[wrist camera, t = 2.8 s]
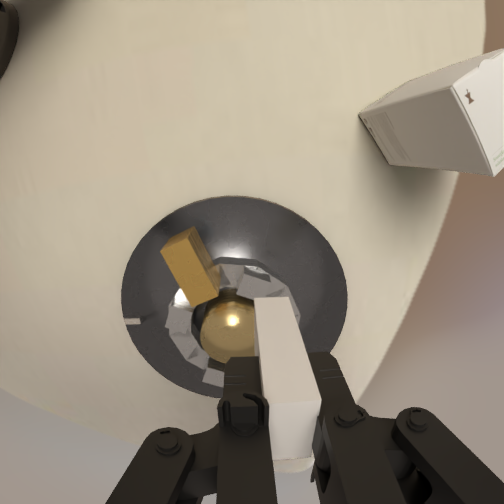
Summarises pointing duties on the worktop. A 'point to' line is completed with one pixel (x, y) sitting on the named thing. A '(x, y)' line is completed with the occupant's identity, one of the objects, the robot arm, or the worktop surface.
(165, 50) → the worktop surface
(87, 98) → the worktop surface
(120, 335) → the worktop surface
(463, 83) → the skincare box
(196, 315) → the bowl
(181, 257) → the ring nut
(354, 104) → the worktop surface
